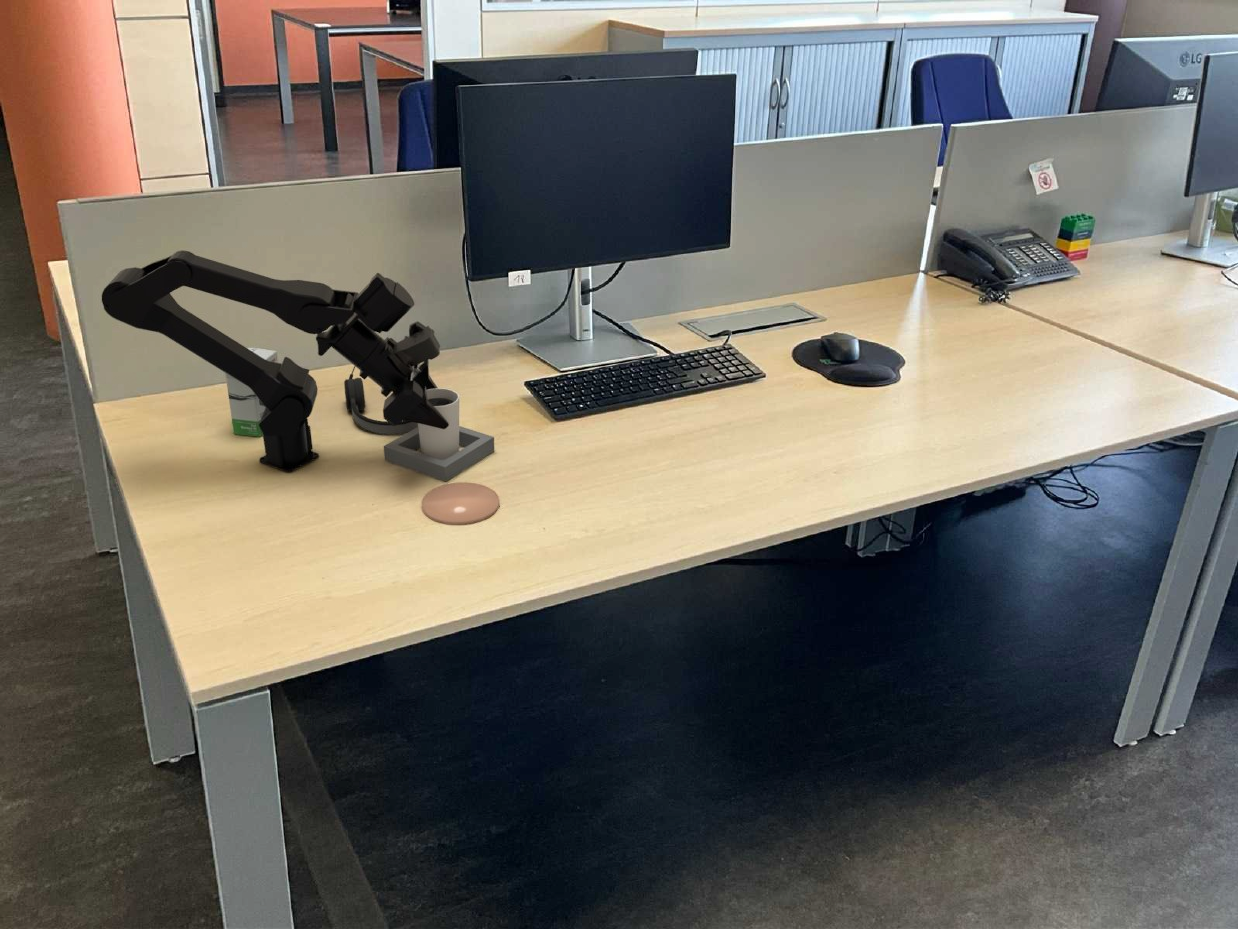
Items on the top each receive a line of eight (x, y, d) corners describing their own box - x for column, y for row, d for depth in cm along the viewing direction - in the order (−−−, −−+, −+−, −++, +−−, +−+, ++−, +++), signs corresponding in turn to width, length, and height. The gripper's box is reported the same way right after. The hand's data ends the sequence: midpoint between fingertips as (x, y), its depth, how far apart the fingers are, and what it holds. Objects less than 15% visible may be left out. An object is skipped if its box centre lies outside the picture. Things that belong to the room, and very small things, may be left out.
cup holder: (445, 481, 162) (444, 467, 160) (384, 460, 167) (383, 446, 166) (494, 451, 171) (494, 436, 170) (435, 431, 176) (434, 417, 175)
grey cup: (441, 441, 173) (438, 384, 168) (470, 455, 169) (468, 396, 165) (409, 456, 168) (405, 397, 164) (438, 470, 165) (435, 410, 160)
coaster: (467, 532, 149) (466, 529, 149) (405, 509, 154) (405, 506, 154) (514, 499, 158) (514, 495, 157) (454, 478, 163) (454, 475, 162)
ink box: (260, 438, 172) (251, 369, 167) (232, 434, 173) (221, 365, 168) (286, 415, 180) (277, 348, 174) (258, 411, 181) (249, 345, 175)
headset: (407, 333, 188) (441, 387, 174) (408, 379, 193) (442, 435, 179) (331, 343, 182) (361, 400, 168) (335, 390, 188) (364, 449, 174)
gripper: (401, 338, 149) (484, 408, 156) (408, 292, 166) (483, 358, 172) (347, 391, 152) (431, 458, 159) (359, 341, 168) (435, 404, 175)
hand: (447, 417), depth 166 cm, fingers closed on grey cup, 6 cm apart
